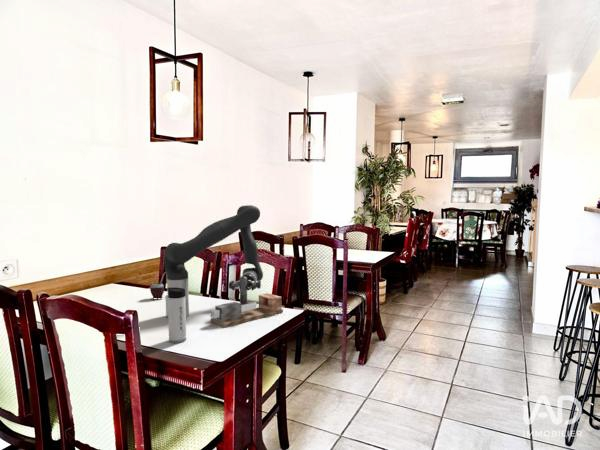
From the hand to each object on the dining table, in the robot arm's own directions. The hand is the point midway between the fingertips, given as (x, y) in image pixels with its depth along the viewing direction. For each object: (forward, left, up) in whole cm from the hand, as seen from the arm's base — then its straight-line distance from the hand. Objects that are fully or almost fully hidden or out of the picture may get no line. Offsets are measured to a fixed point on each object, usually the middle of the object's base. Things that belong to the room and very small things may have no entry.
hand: (242, 288), depth 177 cm
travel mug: (-34, -5, -14) cm, 37 cm away
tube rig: (+4, +1, -14) cm, 15 cm away
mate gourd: (-10, +63, -14) cm, 66 cm away
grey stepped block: (-4, +1, -10) cm, 11 cm away
